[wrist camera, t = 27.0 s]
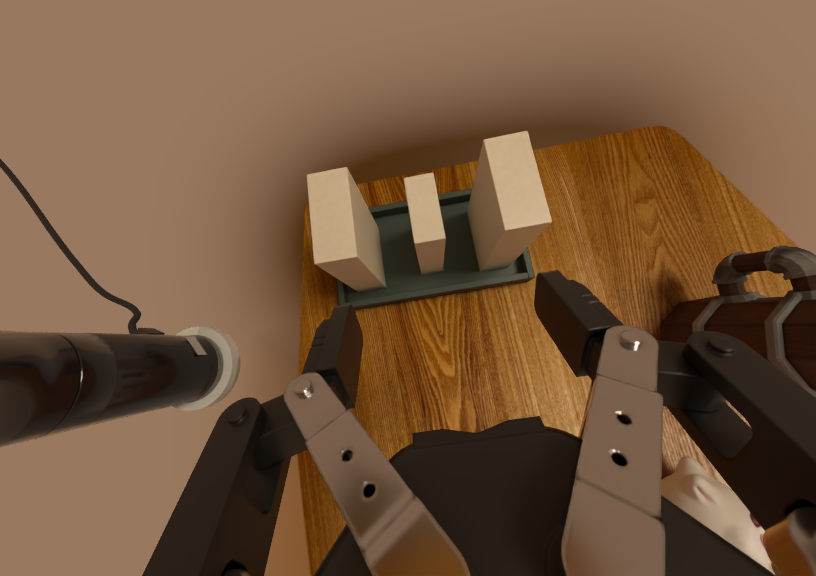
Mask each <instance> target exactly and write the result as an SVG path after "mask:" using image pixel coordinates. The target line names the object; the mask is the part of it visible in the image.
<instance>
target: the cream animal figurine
mask: <svg viewBox="0 0 816 576" xmlns="http://www.w3.org/2000/svg"><path fill="white" fill-rule="evenodd" d="M661 495H662V496H663V497H665V498H666V499H668V500H669V501H671V502H672V503H673V504H675V505H676V506H678V507H679V508H681V509H682V510H683V511H685V512H686V513H688V514H689V515H691V516H692V517H694V518H695V519H696V520H698V521H699V522H701V523H702V524H704V525H705V526H706V527H708V528H709V529H711V530H712V531H714V532H715V533H716V534H718V535H719V536H721V537H722V538H724V539H725V540H726V541H728V542H729V543H731V544H732V545H734V546H735V547H736V548H738V549H739V550H741V551H742V552H744V553H745V554H746V555H748V556H749V557H751V558H752V559H754V560H755V561H756V562H758V563H759V564H761V565H762V566H764V567H765V568H766V569H768V570H769V571H770V572H772V573H773V574H774V572H773V570H772V568H771V566H770V564H769V558H768V555H767V552H766V550H765V547H764V544H763V534H764V532H765V530H764V529H763V528H762V527H761V525H760V524H759V523H758V522H757V520H756V519H755V518H754V517H753V515H752V514H751V513H750V512H749V510H748V509H747V508H746V506H745V505H744V504H743V503H742V501H741V500H740V499H739V498H738V496H737V495H736V494H735V493H734V491H733V490H731V489H730V488H728V487H727V486H725V485H724V484H722V483H721V482H719V481H717V480H715V479H714V478H712V477H711V476H710V475H709V474H708V473H707V472H706V471H705V470H704V469H703V468H702V467H701V465H700V464H699V463H698V462H697V461H696V460H695V459H693V458H692V457H690V456H683V457H682V458H681V459H680V460H679V462H678V465H677V467H676V470H675V471H674V473H673V474H672V475H669V476H667V477H665V478H664V479H662V480H661Z"/></svg>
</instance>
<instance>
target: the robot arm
mask: <svg viewBox="0 0 816 576" xmlns="http://www.w3.org/2000/svg"><path fill="white" fill-rule="evenodd" d="M0 167H1V168H2V170H3V171H4V172H5V173H6V174H7V175H8V177H9V178H10V179H11V181H12V182H13V183H14V184H15V186H16V187H17V188H18V190H19V191H20V192H21V194H22V195H23V196H24V198H25V199H26V201H27V202H28V204H29V205H30V206H31V208H32V209H33V211H34V212H35V214H36V215H37V216H38V218H39V219H40V221H41V222H42V224H43V225H44V227H45V228H46V230H47V231H48V232H49V234H50V235H51V237H52V238H53V239H54V241H55V242H56V243H57V245H58V246H59V248H60V249H61V250H62V252H63V253H64V254H65V255H66V257H67V258H68V259H69V260H70V262H71V263H72V264H73V265H74V267H75V268H76V269H77V270H78V272H79V273H80V274H81V275H82V276H83V278H84V279H85V280H86V281H87V282H88V284H89V285H90V286H91V287H92V288H94V290H96V291H97V292H98V293H99V294H100V295H102V296H103V297H105V298H106V299H108V300H110V301H112V302H115V303H117V304H120V305H122V306H124V307H126V308H128V309H129V310H131V311H132V313H133V314H134V316H133V317H132V318H131V320H130V321H129V324H128V329H129V333H130V334H102V333H99V334H98V333H53V332H20V331H0V447H2V446H8V445H12V444H16V443H21V442H24V441H29V440H32V439H37V438H41V437H46V436H50V435H54V434H58V433H62V432H66V431H70V430H74V429H78V428H82V427H86V426H90V425H95V424H99V423H103V422H107V421H111V420H115V419H119V418H124V417H128V416H132V415H136V414H140V413H144V412H148V411H153V410H157V409H161V408H165V407H169V406H174V405H178V404H182V403H188V402H193V401H197V400H200V399H202V398H204V397H206V396H207V395H209V394H210V393H211V392H212V391H213V390H214V389H215V387H216V386H217V384H218V383H219V381H220V379H221V376H222V372H223V356H222V353H221V350H220V348H219V346H218V345H217V344H216V343H215V342H214V341H213V340H212V339H210V338H208V337H206V336H201V335H188V336H182V335H164V334H165V333H163V332H160V331H158V330H156V329H152V328H138V330H137V328H136V323H137V322H138V320H139V319H140V316H141V312H140V311H139V310H138V308H137V307H136V306H134V305H133V304H131V303H129V302H127V301H125V300H122V299H120V298H117V297H115V296H113V295H111V294H110V293H108V292H106V291H105V290H104V289H103V288H102V287H101V286H100V285H98V284H97V283H96V282H95V280H94V279H93V278H92V277H91V276H90V275H89V274H88V272H87V271H86V270H85V269H84V267H83V266H82V265H81V264H80V263H79V261H78V260H77V259H76V258H75V257H74V255H73V254H72V253H71V251H70V250H69V249H68V248H67V246H66V245H65V244H64V242H63V241H62V240H61V238H60V237H59V235H58V234H57V233H56V231H55V230H54V229H53V227H52V226H51V224H50V223H49V221H48V220H47V219H46V217H45V216H44V214H43V213H42V212H41V210H40V209H39V207H38V206H37V204H36V203H35V201H34V200H33V199H32V197H31V196H30V194H29V193H28V192H27V190H26V189H25V188H24V186H23V185H22V184H21V183H20V181H19V180H18V179H17V178H16V176H15V175H14V174H13V173H12V171H11V170H10V169H9V168H8V167H7V166H6V165H5V163H4V162H3V161H2V160H1V159H0ZM534 306H535V311H536V314H537V316H538V318H539V319H540V321H541V323H542V324H543V326H544V327H545V329H546V330H547V332H548V333H549V335H550V337H551V338H552V340H553V341H554V343H555V344H556V346H557V347H558V349H559V351H560V352H561V354H562V355H563V357H564V358H565V360H566V361H567V363H568V364H569V366H570V368H571V369H572V371H573V372H574V374H575V375H576V377H580V376H587V375H589V377H590V378H591V380H592V382H591V386H590V390H589V395H588V399H587V403H586V408H585V412H584V416H583V421H582V425H581V429H580V433H579V437H576V436H574V435H572V434H570V433H568V432H565V431H562V430H559V429H556V428H551V427H546V426H544V425H543V423H542V420H541V418H540V416H537V417H529V418H522V419H514V420H508V421H505V422H503V423H500V424H498V425H496V426H493V427H491V428H488V429H486V430H484V431H481V432H479V433H471V432H463V431H455V430H446V429H440V430H433V431H426V432H418V433H413V443H412V444H410V445H408V446H406V447H405V448H403V449H401V450H400V451H399V452H397V453H396V454H395V455H394V456H393V457H392V458H391V459H389V461H388V460H387V458H386V457H385V456H384V454H383V453H382V452H381V450H380V449H379V448H378V446H377V445H376V444H375V442H374V441H373V440H372V439H371V437H370V436H369V435H368V433H367V432H366V431H365V429H364V428H363V427H362V425H361V424H360V423H359V421H358V420H357V419H356V418H355V416H354V415H353V414H352V412H351V411H350V410H349V408H355V402H356V395H357V387H358V379H359V371H360V363H361V355H362V347H363V335H362V330H361V327H360V325H359V322H358V319H357V316H356V313H355V311H354V308H353V306H352V305H351V304H349V305H343V306H337V307H334V308H333V311H332V315H331V318H330V319H328V320H324V321H323V322H322V323H321V324H320V326H319V327H318V328H317V330H316V333H315V336H314V340H313V342H312V345H311V346H312V347H311V348H310V351H309V354H308V357H307V360H306V363H305V366H304V369H303V372H302V375H300V376H299V377H297V378H296V379H294V380H293V381H292V382H291V383H290V384H289V385H288V387H287V388H286V390H285V393H284V394H283V395H282V396H279V397H277V398H274V399H272V400H270V401H268V402H265V403H263V404H260V403H259V402H258V401H257V399H255V398H244V399H241V400H238V401H237V402H235V403H233V404H232V405H230V406H229V407H228V408H227V409H226V410H225V411H224V412H223V413H222V414H221V416H220V417H219V419H218V421H217V423H216V425H215V427H214V429H213V431H212V433H211V435H210V437H209V439H208V441H207V443H206V445H205V447H204V449H203V451H202V454H201V456H200V458H199V460H198V462H197V464H196V466H195V468H194V470H193V472H192V474H191V476H190V478H189V480H188V482H187V485H186V487H185V489H184V491H183V493H182V495H181V497H180V499H179V501H178V503H177V505H176V507H175V509H174V511H173V513H172V515H171V517H170V520H169V522H168V524H167V526H166V528H165V530H164V532H163V534H162V536H161V538H160V540H159V542H158V544H157V546H156V549H155V550H154V552H153V555H152V557H151V559H150V561H149V563H148V565H147V567H146V569H145V571H144V573H143V575H142V576H264V573H265V568H266V564H267V560H268V555H269V550H270V546H271V542H272V538H273V533H274V529H275V525H276V520H277V516H278V512H279V507H280V503H281V499H282V494H283V490H284V486H285V481H286V477H287V473H288V468H289V463H290V460H291V456H293V455H296V454H298V453H300V452H302V451H304V450H306V449H308V450H309V452H310V454H311V456H312V458H313V460H314V462H315V463H316V465H317V467H318V469H319V471H320V473H321V475H322V477H323V479H324V481H325V483H326V484H327V486H328V488H329V490H330V492H331V494H332V496H333V498H334V500H335V502H336V504H337V505H338V507H339V509H340V511H341V513H342V515H343V517H344V519H345V521H346V523H347V524H346V526H345V527H344V529H343V531H342V532H341V534H340V535H339V537H338V538H337V540H336V542H335V543H334V545H333V546H332V548H331V549H330V551H329V553H328V554H327V556H326V557H325V559H324V560H323V562H322V564H321V565H320V567H319V568H318V570H317V571H316V573H315V575H314V576H816V398H815V397H814V396H813V395H811V394H810V393H809V392H808V391H806V390H805V389H804V388H802V387H801V386H800V385H798V384H797V383H796V382H795V381H793V380H792V379H791V378H789V377H788V376H787V375H785V374H784V373H783V372H782V371H780V370H779V369H778V368H776V367H775V366H774V365H773V364H771V363H770V362H769V361H767V360H766V359H765V358H763V357H762V356H761V355H760V354H758V353H757V352H756V351H754V350H753V349H752V348H750V347H749V346H748V345H746V344H745V343H744V342H742V341H740V340H738V339H736V338H734V337H732V336H729V335H726V334H723V333H719V332H713V331H699V332H695V333H693V334H692V335H691V336H690V337H689V339H688V341H687V343H682V342H669V341H658V340H656V339H655V338H654V337H653V336H652V335H650V334H649V333H647V332H646V331H644V330H642V329H639V328H636V327H632V326H625V325H623V324H622V323H621V322H620V321H619V320H618V319H617V318H616V317H615V316H614V315H613V314H612V313H611V312H610V311H609V310H608V309H607V308H606V307H605V306H604V305H603V304H602V303H601V302H599V300H598V299H597V298H596V297H595V296H593V293H592V292H591V291H590V290H589V289H588V288H587V287H586V286H584V285H582V284H580V283H578V282H576V281H574V280H567V279H566V278H565V277H564V276H563V275H562V274H561V273H560V272H559V271H558V270H555V271H549V272H543V273H538V274H537V277H536V288H535V299H534ZM725 400H727V401H728V402H729V403H730V404H731V405H732V406H733V407H734V408H735V409H736V410H737V411H738V412H739V413H740V414H741V415H742V416H743V417H744V418H745V419H746V420H747V421H748V423H749V424H750V426H751V428H750V427H749V426H748V425H747V424H746V423H745V422H744V421H743V420H742V419H741V418H740V417H739V416H738V415H737V414H736V413H735V412H734V411H733V410H732V409H731V408H730V407H729V406H728V405H727V404H726V403H725ZM663 406H666V407H667V408H668V409H669V410H670V412H671V413H672V414H673V416H674V417H675V418H676V419H677V421H678V422H679V423H680V424H681V426H682V427H683V428H684V429H685V431H686V432H687V433H688V434H689V436H690V437H691V438H692V440H693V441H694V442H695V443H696V445H697V446H698V447H699V448H700V450H701V451H702V452H703V453H704V455H705V456H706V457H707V458H708V460H709V461H710V462H711V464H712V465H713V466H714V467H715V469H716V470H717V471H718V472H719V474H720V475H721V476H722V477H723V479H724V480H725V481H726V482H727V484H728V485H729V486H730V488H731V489H732V490H733V491H734V493H735V494H736V495H737V496H738V498H739V499H740V500H741V501H742V503H743V504H744V505H745V506H746V508H747V509H748V510H749V512H750V513H751V514H752V515H753V517H754V518H755V519H756V520H757V522H758V523H759V524H760V525H761V527H762V528H763V529H764V530H765V532H764V534H763V544H764V547H765V550H766V552H767V555H768V557H769V558H770V560H771V561H772V563H771V566H772V570H773V572H774V573H775V574H773V573H772V572H770V571H769V570H768V569H766V568H765V567H764V566H762V565H761V564H759V563H758V562H756V561H755V560H754V559H752V558H751V557H749V556H748V555H746V554H745V553H744V552H742V551H741V550H739V549H738V548H736V547H735V546H734V545H732V544H731V543H729V542H728V541H726V540H725V539H724V538H722V537H721V536H719V535H718V534H716V533H715V532H714V531H712V530H711V529H709V528H708V527H706V526H705V525H704V524H702V523H701V522H699V521H698V520H696V519H695V518H694V517H692V516H691V515H689V514H688V513H686V512H685V511H683V510H682V509H681V508H679V507H678V506H676V505H675V504H673V503H672V502H671V501H669V500H668V499H666V498H665V497H663V496H662V495H661V474H662V426H663Z"/></svg>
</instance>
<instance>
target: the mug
mask: <svg viewBox="0 0 816 576" xmlns="http://www.w3.org/2000/svg"><path fill="white" fill-rule="evenodd" d="M766 270H769V271H771V272H773V273H778V274H779V273H783V274H784V276H783V278H784V280H787V279H790V281H791V284H792V287H793V290H791V291H788V292H787V294H786V295H785V296H784V297H769V298H768V297H765V296H762V295H760V294H757V293H754V292H746V290H745V286H744V283H743V282H746V281H747V280H748V278H747V277H746V275H749V274H752V273H753V272H755V271H766ZM712 283H713V284H717V286H718V290H719V294H720V295H718V296H715V297H709V298H703V299H698V300H693V301H688V302H683V303H679V304H678V305H677V307H676V308H675V309H674V310H673V311H672V313H671V314H670V315H669V316H668V317H667V319H666V320H665V321H664V322H663V323H662V324H661V334H662V341H669V342H682V343H687V341H688V339H689V337H690V336H691V335H692V334H693V333H695V332H699V331H713V332H719V333H723V334H726V335H729V336H732V337H734V338H736V339H738V340H740V341H742V342H744V343H745V344H746V345H748V346H749V347H750V348H752V349H753V350H754V351H756V352H757V353H758V354H760V355H761V356H762V357H763V358H765V359H766V360H767V361H769V362H770V363H771V364H773V365H774V366H775V367H776V368H778V369H779V370H780V371H782V372H783V373H784V374H785V375H787V376H788V377H789V378H791V379H792V380H793V381H795V382H796V383H797V384H798V385H800V386H801V387H802V388H804V389H805V390H806V391H808V392H809V393H810V394H811V395H813V396H814V397H815V398H816V255H814V254H813V253H811V252H810V251H807V250H804V249H801V248H798V247H788V246H778V247H773V248H772V249H771V250H770V251H763V252H756V253H749V254H748V253H745V252H742V251H740V252H735V253H731V254H730V255H729V256H727V257H726V258H724V259H723V260H722V261H721V262H720V263H719V264H718V266H717V268H716V270H715V273H714V276H713V280H712Z"/></svg>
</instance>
